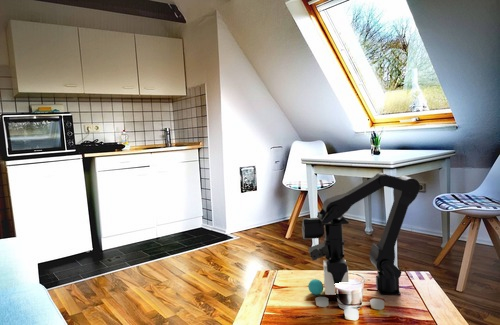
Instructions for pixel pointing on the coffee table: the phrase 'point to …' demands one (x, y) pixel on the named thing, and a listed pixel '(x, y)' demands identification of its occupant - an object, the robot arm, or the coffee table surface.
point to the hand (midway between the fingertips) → (335, 282)
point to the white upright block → (331, 280)
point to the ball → (315, 286)
